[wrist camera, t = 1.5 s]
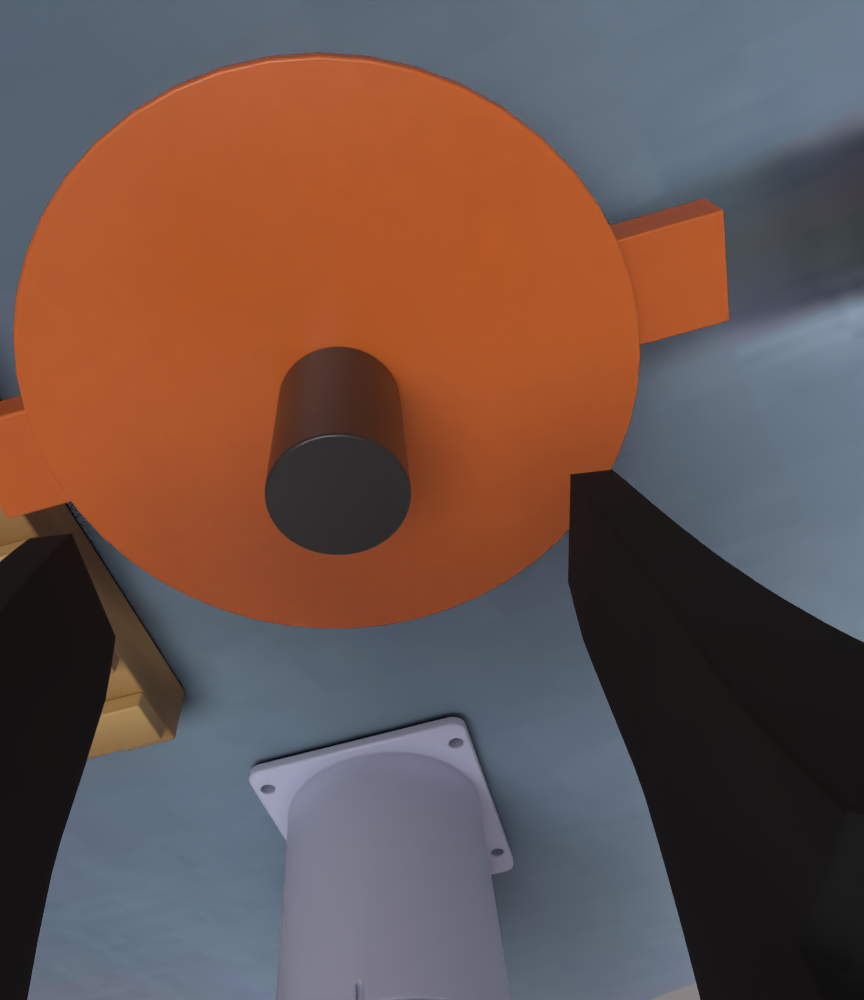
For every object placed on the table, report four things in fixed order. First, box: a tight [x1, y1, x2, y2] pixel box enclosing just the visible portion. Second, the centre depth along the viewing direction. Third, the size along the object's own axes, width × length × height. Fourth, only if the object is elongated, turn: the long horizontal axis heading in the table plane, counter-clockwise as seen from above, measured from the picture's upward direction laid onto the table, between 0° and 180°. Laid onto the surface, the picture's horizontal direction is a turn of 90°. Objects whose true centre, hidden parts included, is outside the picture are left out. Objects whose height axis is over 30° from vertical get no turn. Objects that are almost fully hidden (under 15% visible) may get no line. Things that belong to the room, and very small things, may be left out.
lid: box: [13, 52, 640, 628], centre depth 15 cm, size 12×12×5 cm
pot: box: [0, 199, 729, 518], centre depth 18 cm, size 11×17×4 cm
